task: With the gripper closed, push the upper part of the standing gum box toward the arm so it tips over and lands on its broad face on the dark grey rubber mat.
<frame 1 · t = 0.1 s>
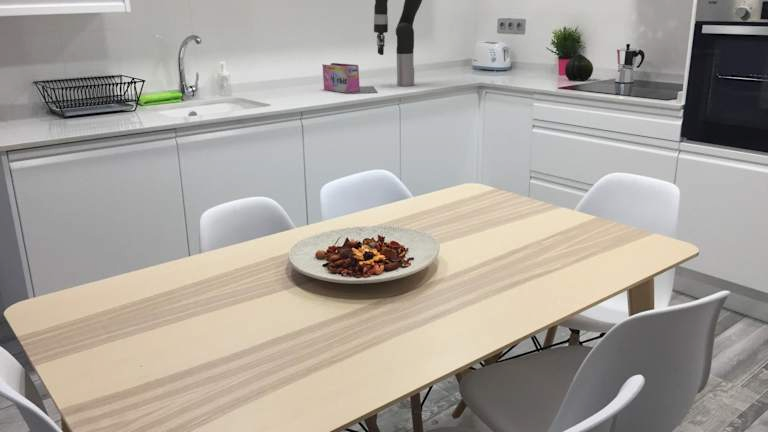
hand: (380, 54, 371), 17 cm above the table, tool pointing down, fingers open, 8 cm apart
mat: (363, 90, 364), on the table
gum box: (341, 90, 362), on the table, touching mat
squash: (577, 80, 381), on the table
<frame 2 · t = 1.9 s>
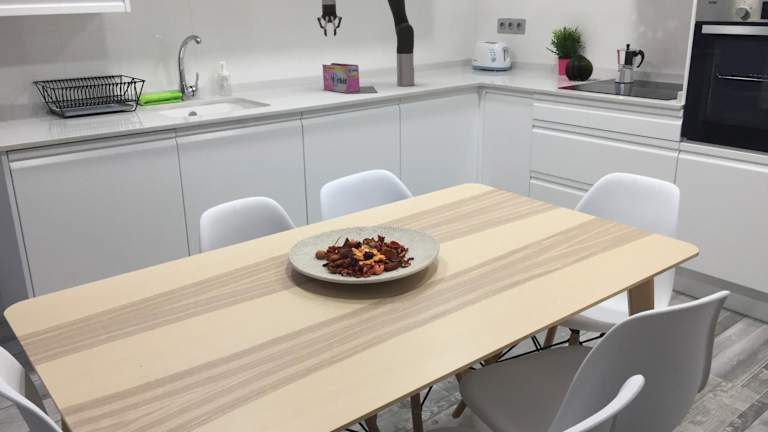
hand: (330, 36, 372), 27 cm above the table, tool pointing down, fingers open, 4 cm apart
nothing on the table moved.
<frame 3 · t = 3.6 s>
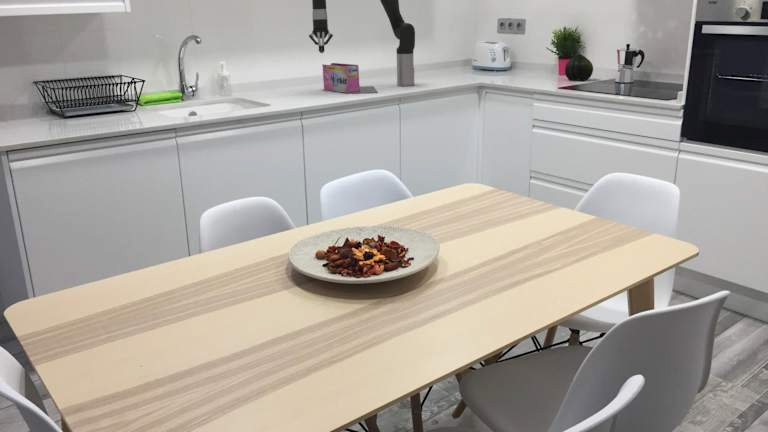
hand: (321, 52, 355), 20 cm above the table, tool pointing down, fingers closed
nothing on the table moved.
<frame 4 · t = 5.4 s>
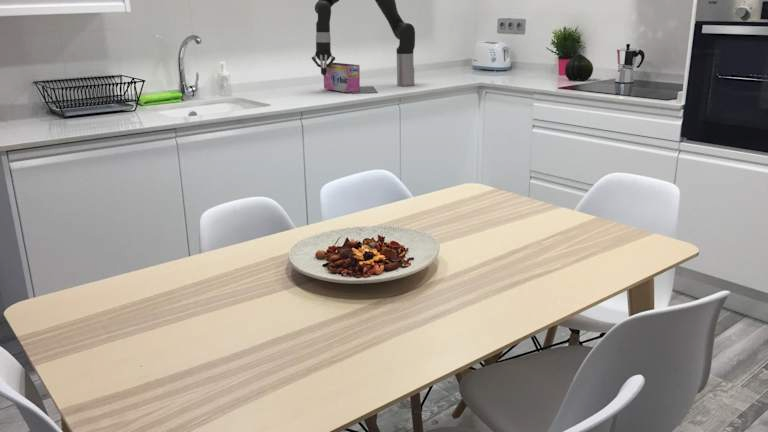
hand: (323, 75, 359), 9 cm above the table, tool pointing down, fingers closed
gum box: (341, 90, 362), on the table, touching hand, mat
everything else where it was.
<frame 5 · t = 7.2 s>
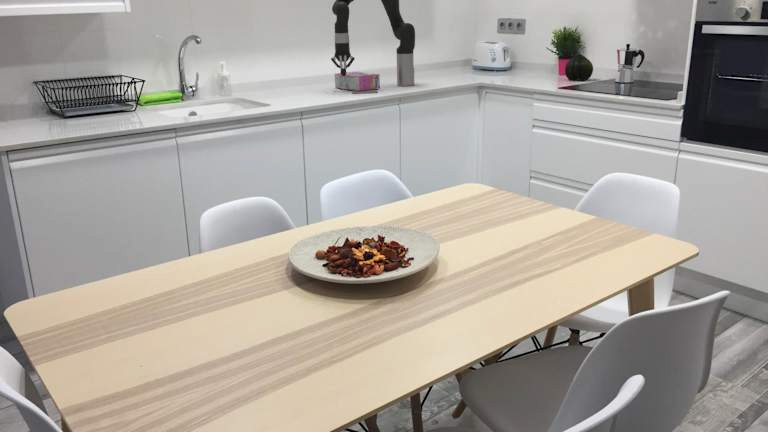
hand: (343, 75, 360), 8 cm above the table, tool pointing down, fingers closed
gum box: (346, 82, 363), point 4 cm above the table, touching mat
everything else where it was.
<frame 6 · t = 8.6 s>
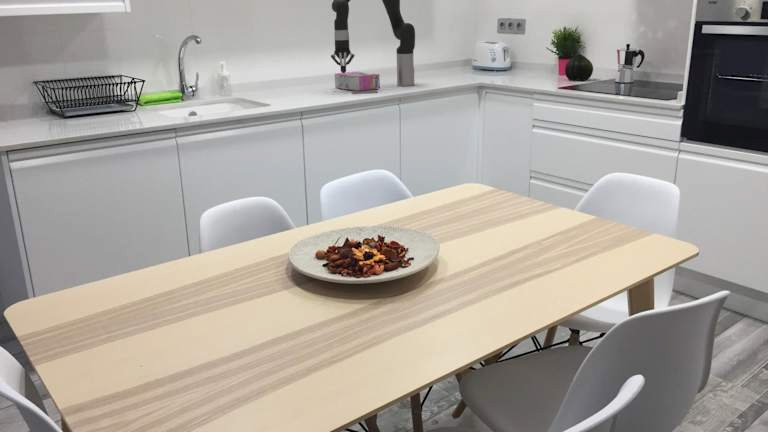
hand: (343, 72, 360), 9 cm above the table, tool pointing down, fingers closed
nothing on the table moved.
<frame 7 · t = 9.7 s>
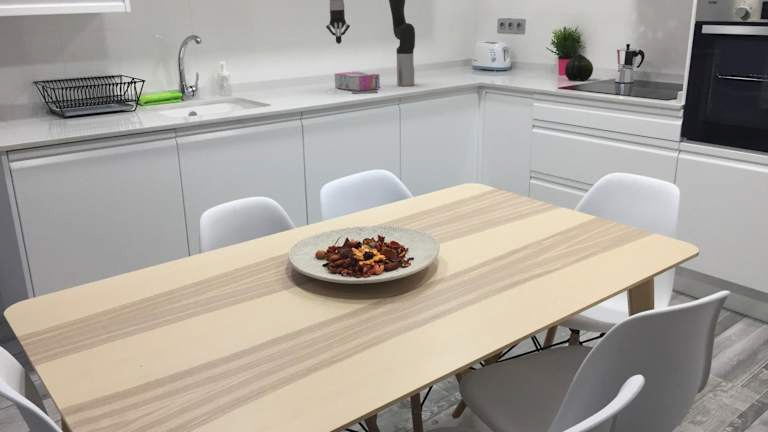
hand: (338, 43, 358), 24 cm above the table, tool pointing down, fingers closed
nothing on the table moved.
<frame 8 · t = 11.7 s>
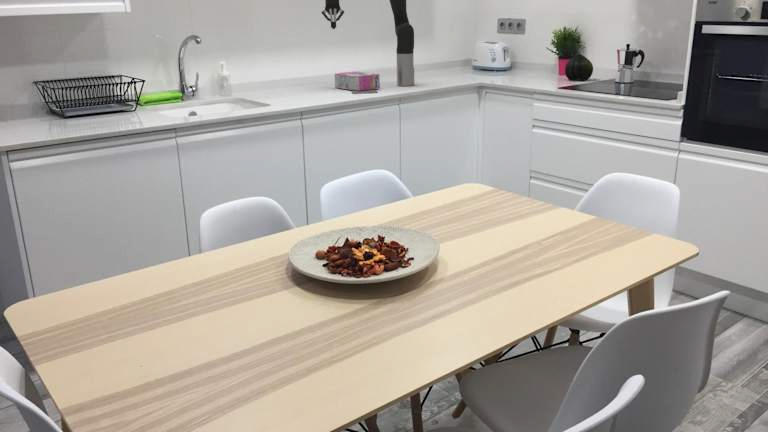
hand: (333, 28, 373), 31 cm above the table, tool pointing down, fingers closed
nothing on the table moved.
at the end: gum box tilted 90°; gum box inside the target area (7.6 cm from its centre), point 4.2 cm above the table; the gripper is holding nothing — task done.
